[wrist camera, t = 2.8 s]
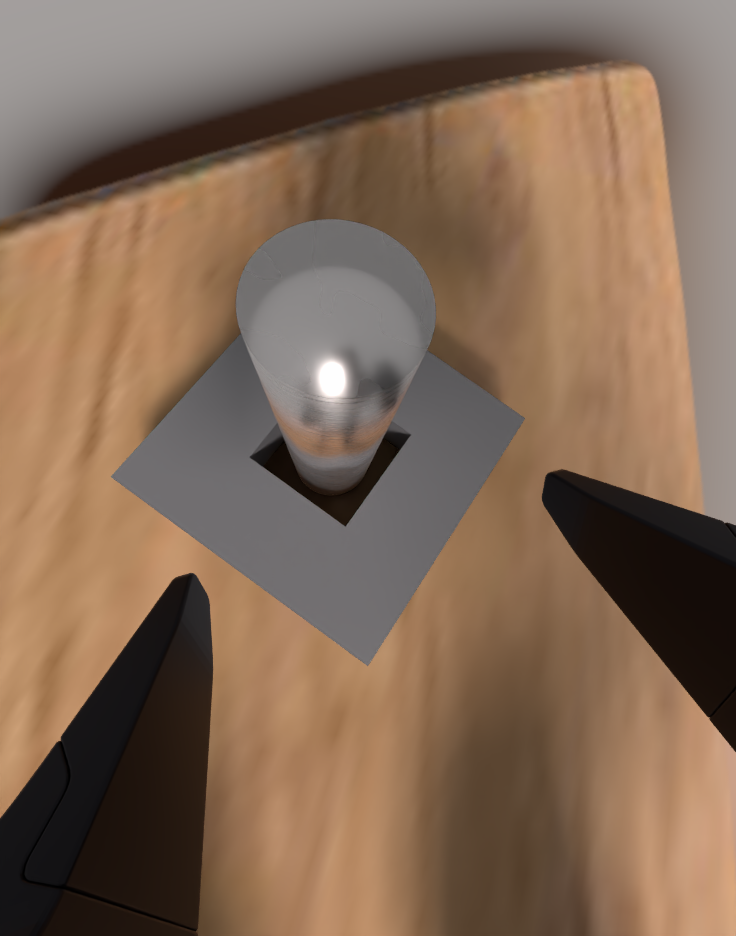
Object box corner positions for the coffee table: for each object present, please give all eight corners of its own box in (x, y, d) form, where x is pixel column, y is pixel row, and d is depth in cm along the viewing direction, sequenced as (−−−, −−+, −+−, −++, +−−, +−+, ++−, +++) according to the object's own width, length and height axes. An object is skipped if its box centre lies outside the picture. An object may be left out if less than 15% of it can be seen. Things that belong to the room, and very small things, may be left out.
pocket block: (499, 435, 23) (525, 418, 20) (361, 648, 20) (368, 665, 17) (306, 300, 23) (303, 264, 20) (142, 487, 20) (110, 476, 17)
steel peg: (382, 452, 22) (471, 291, 8) (339, 510, 21) (362, 438, 7) (324, 411, 22) (317, 186, 8) (280, 467, 21) (192, 317, 7)
